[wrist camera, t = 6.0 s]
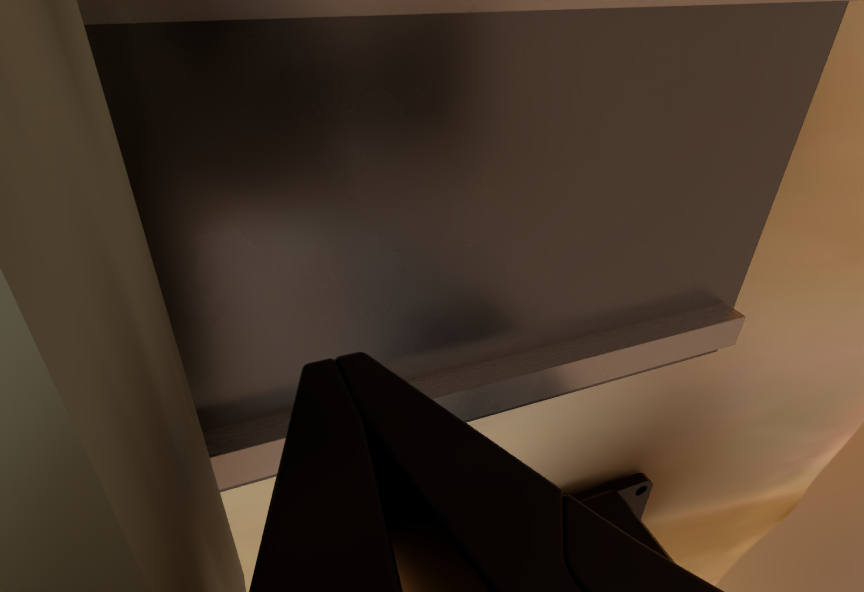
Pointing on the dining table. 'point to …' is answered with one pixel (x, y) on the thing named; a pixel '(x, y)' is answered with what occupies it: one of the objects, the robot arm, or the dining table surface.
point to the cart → (88, 348)
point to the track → (448, 187)
